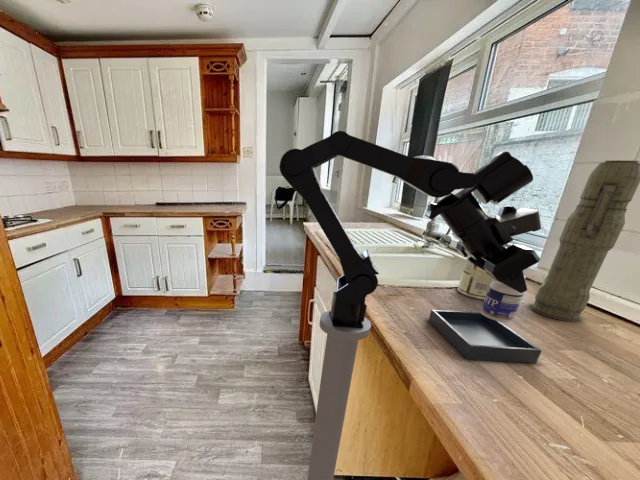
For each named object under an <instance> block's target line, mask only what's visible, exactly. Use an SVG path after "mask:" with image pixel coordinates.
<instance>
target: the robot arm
mask: <svg viewBox="0 0 640 480" xmlns="http://www.w3.org/2000/svg"><path fill="white" fill-rule="evenodd" d="M337 157H342V158H345V159H348V160H349V161H352V162H355V163H358V164H361V165H364V166H366V167H369V168H371V169H374V170H377V171H379V172H382V173H384V174H388V175H390V176H393V177H396V178H397V179H399V180H401V181H402V182H403V183H405V184H407V185H408V186H410V187H411V188H412V189H414V190H416V191H417V192H420V193H421V194H423V195H425V196H428V197H432V198H441V199H440V200H438V201H437V202H428V203H427V209H426V211H425V214H424V216H425V217H426V218H428V219H429V220H434V219H435V218H436V217H438V216H440V217H441V218H442V220H443V221H444V223H445V224H446V225H447V227H448V228H449V229H450V230H451V235H452V236H453V238H455V239H457V240H458V241H457V242H456V246H455V250H457V252H458V253H459V255H460V256H462V257H463V258H467V256H468V255H470V256H471V257H469V258H468V261H470V262H471V263H473V264H474V265H476V266H478V267H479V268H481V269H483V270H485V271H486V272H487V273H486V274H488V275H489V276H491V277H492V278H494V279H495V280H497V281H498V282H501V283H503V284H505V285H507V286H509V287H511V288H512V289H514V290H516V291H518V292H520V293H523V292H524V293H525V292H527V291H528V286H527V283H526V278H524V275H525V274H524V271H525V270H527V269H528V268H531V267H532V266H534V265H536V264H538V263H539V262H540V260H541V258H540V256H539V255H538V254H537V252H536V251H535V249H533V248H530V247H528V246H525V245H523V244H510V243H511V242H513V241H514V239H513V237H515V236H519V235H523V234H526V233H530V232H533V233H534V232H538V231H541V229H542V223H541V216H540V211H539V210H538V209H533V208H521V207H520V208H518V209H517V208H516V207H514V206H513V205H510V204H509V205H507V204H506V205H503V206H501V207H499V209H498V211H497V213H496V215H495V216H489V215H488V214H487V212H486V210H484V208H483V207H482V205H481V203H482V204H483V205H487V204H489V203H491V204H492V205H498V204H499V203H502V201H504V200H506V199H508V198H509V197H511V196H512V195H514V194H515V193H517V192H518V191H520V190H522V189H523V188H524V187H526V186H527V185H529V184H531V183H533V181H534V175H533V173H532V171H531V169H530V168H529V166H528V165H527V164H524V163H523V162H521V161H520V160H519V159H518V158H516V157H514V156H512V154H511V153H510V152H509V151H501V152H499V153H498V154H496V155H495V156H494V157H493V158H492V159H491V160H490V161H489V162H487V163H486V164H484V165H483V166H481V167H479V168H478V169H477V170H476V171H474V172H473V171H471V172H470V171H469V172H468V171H460V169H459V168H458V166H457V165H456V164H454V163H452V162H449V161H443V160H436V159H430V158H429V159H428V158H423V157H415V156H409V155H405V154H403V153H401V152H397V151H394V150H393V149H389V148H387V147H384V146H380V145H378V144H375V143H372V142H370V141H367V140H364V139H361V138H359V137H356V136H353V135H351V134H348V133H347V132H346V131H344V130H337V131H334V132H333V133H332V134H331V135H328V136H327V137H325V138H323V139H321V140H319V141H318V140H317V142H314V143H312V144H310V145H307V146H306V147H304V148H302V149H300V148H291V149H289V150H286V152H285V153H284V154H282V156H281V158H280V160H279V167H278V168H279V171H280V175H281V176H282V177H283V179H285V180H286V182H287V183H288V184H289V185H290V186H291V188H292V189H293V190H294V191H295V192H296V193H297V194H298V195H299V196H300V197H301V198H302V199H303V200H304V201H305V203H306V205H307V206H308V208H309V210H310V212H311V213H312V214H313V217H314V218H315V220H316V221H317V223H318V225H319V227H320V228H321V230H322V232H323V234H324V235H325V237H326V238H327V240H328V242H329V244H330V245H331V247H332V249H333V250H334V253H335V254H336V255H337V257H338V259H339V263H340V266H341V269H342V272H343V274H342V275H341V276H340V277H338V278H337V279H336V288H335V291H333V292H332V299H331V300H332V301H331V307H330V310H331V312H329V317H330V319H331V322H332V325H333V326H334V327H350V328H363V324H362V322H364V318H365V317H366V314H367V313H366V312H367V309H368V308H367V307H368V305H367V304H366V297H367V296H368V295H371V294H372V293H374V292H375V290H376V289H377V288H378V285H379V279H378V276H377V275H379V274H380V272H379V269H378V267H377V264H376V263H375V262H374V261H373V260H372V258H371V256H370V254H369V250H368V249H364V251H362V252H361V251H360V250H359V248H358V247H357V246H356V245H355V244H354V242H353V240H352V239H351V237H350V235H349V233H348V232H347V230H346V228H345V227H344V224H343V223H342V221H341V218H339V216H338V214H337V213H336V211H335V209H334V207H333V205H332V203H331V202H330V200H329V199H328V197H327V195H326V193H325V191H324V190H323V187H322V184H321V181H320V178H319V175H318V171H317V169H316V168H319V167H320V166H322V165H324V164H326V163H327V162H329V161H331V160H333V159H335V158H337ZM456 190H460V191H458V192H457V193H453V192H455V191H456ZM479 201H480V202H481V203H480V202H479ZM504 244H508V245H509V244H510V245H511V246H510V247H508V248H506V247H504Z"/></svg>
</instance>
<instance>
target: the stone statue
mask: <svg viewBox="0 0 640 480" xmlns="http://www.w3.org/2000/svg"><path fill="white" fill-rule="evenodd" d="M639 185H640V162H639V160H604V162H599V163H597V165H596V166H595V167H594V169H593V170H592V171H591V173H590V174H589V175H588V177H587V179H586V182H585V184H584V187H583V189H582V192H581V195H580V197H579V198H580V200H579V202H578V204H577V205H576V206H575V208H574V210H573V212H572V213H570V214H569V216H568V217H567V219H566V222H565V224H564V226H563V229H562V231H561V234H560V236H559V238H558V239H559V240H558V241H559V246H558V248H557V250H556V253H555V256H554V258H553V260H552V263H551V266H550V268H549V270H548V273H547V275H546V278H545V280H543V282H542V283H541V284H540V286H539V287H538V290H537V292H536V294H535V297H534V300H535V301H534V303H533V304H532V306H531V309H532V310H533V311H534V312H536V313H538V314H540V315H542V316H545V317H548V318H550V319H554V320H558V321H567V322H577V321H578V320H579V319H580V316H581V314H582V313H583V311H584V310H586V307H587V305H588V303H589V301H590V297H591V296H590V291H591V289H592V286H593V284H594V282H595V280H596V278H597V276H598V274H599V272H600V270H601V268H602V265H603V264H604V261H605V259H606V257H607V255H608V253H609V251H611V250H612V249H614V247H615V245H616V243H617V241H618V239H619V238H620V234H621V232H622V231H623V228H624V226H625V224H626V213H627V210H628V206H629V203H630V202H632V201H633V198H634V196H635V194H636V192H637V189H638V187H639Z"/></svg>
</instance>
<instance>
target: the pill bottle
mask: <svg viewBox="0 0 640 480" xmlns="http://www.w3.org/2000/svg"><path fill="white" fill-rule="evenodd" d="M526 277H527V276H526V275H525V274H524V278H525V279H526ZM524 295H525V292H523V293H520V292H518V291H516V290H514V289H512V288H511V287H509V286H507V285H505V284H503V283H501V282H498V281H493V282H492V283H491V284H490V286H489V288H488V291H487V294H486V297H485V300H483V303H482V305H481V308H480V312H481V314H482V315H484V316H485V317H487V318H490V319H492V320H496V321H500V322H501V323H510V322H513V321H514V320H515V316H516V314H517V312H518V309H519V306H520V304H521V302H522V299H523V297H524Z"/></svg>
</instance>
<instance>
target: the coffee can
mask: <svg viewBox="0 0 640 480" xmlns="http://www.w3.org/2000/svg"><path fill="white" fill-rule="evenodd" d="M511 245H512V244H509V243H508V244H504V247H506V248H508V247H510V246H511ZM467 255H468V254H467ZM469 257H471V256H470V255H468V256H467V257H466V259H465V264H464V267H463V269H462V273H461V277H460V280H459V284H458V287H457V291H458V292H459V293H461V294H462V295H465V296H466V297H470V298H472V299H473V298H474V299H477V300H483V301H484V300H485V297H486V294H487V291H488V288H489V286H490V284H491V283H492V282H493V281H497V280H495V279H494V278H492V277H491V276H489V275H488V274H486V273H487V272H486V271H485V270H483V269H481V268H479V267H478V266H476V265H474V264H473V263H471V262H470V261H468V258H469Z"/></svg>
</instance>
